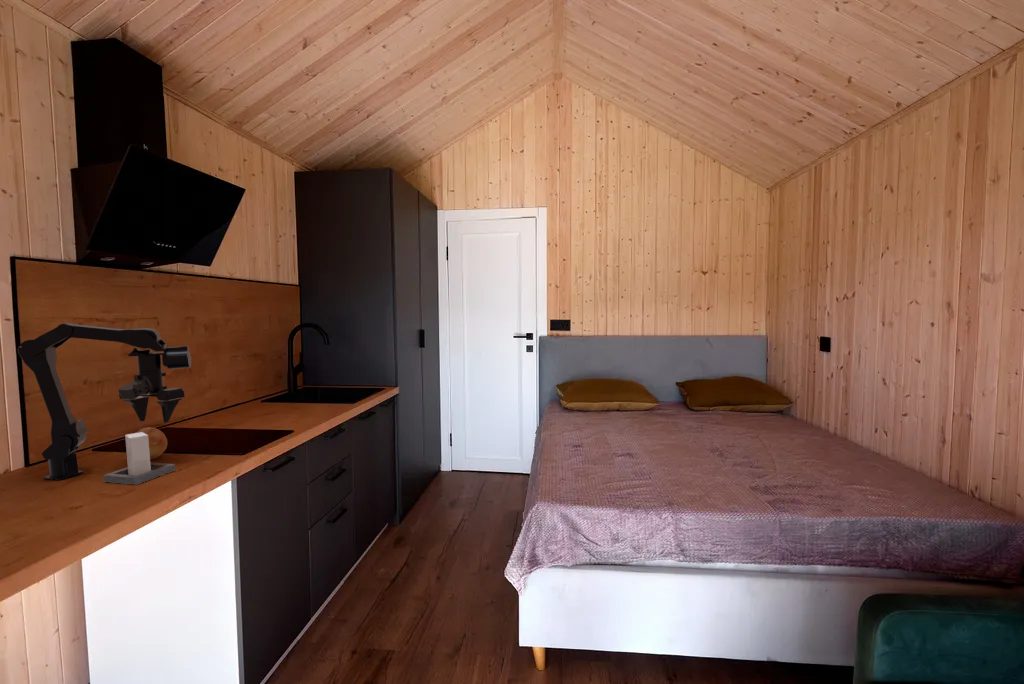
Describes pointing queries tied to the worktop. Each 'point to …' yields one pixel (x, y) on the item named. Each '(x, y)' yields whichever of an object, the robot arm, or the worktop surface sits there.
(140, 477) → the silver metal square frame
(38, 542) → the worktop surface
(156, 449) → the onion
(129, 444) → the skincare box
